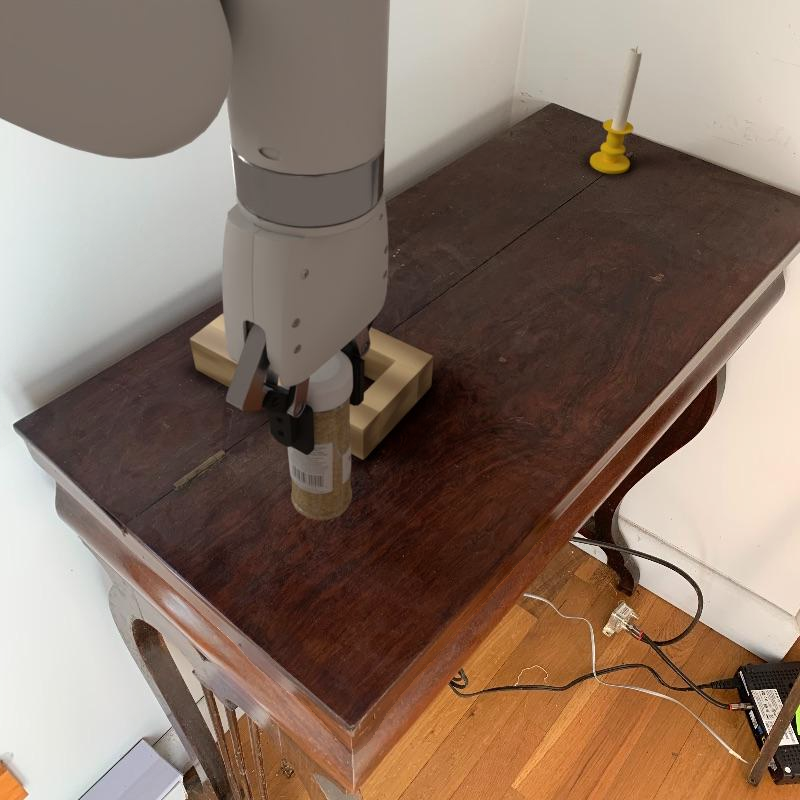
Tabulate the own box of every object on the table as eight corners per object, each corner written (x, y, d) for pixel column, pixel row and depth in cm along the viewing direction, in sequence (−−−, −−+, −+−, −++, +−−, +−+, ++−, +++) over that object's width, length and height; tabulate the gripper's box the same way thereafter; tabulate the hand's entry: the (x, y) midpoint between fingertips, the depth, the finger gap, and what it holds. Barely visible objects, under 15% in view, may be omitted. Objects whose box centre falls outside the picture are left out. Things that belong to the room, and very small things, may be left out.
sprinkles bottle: (364, 496, 60) (368, 364, 50) (321, 534, 57) (316, 402, 48) (321, 464, 62) (316, 331, 52) (277, 499, 59) (263, 365, 50)
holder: (363, 460, 70) (363, 430, 67) (195, 369, 78) (189, 338, 75) (431, 386, 77) (433, 356, 74) (271, 309, 84) (267, 278, 81)
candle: (623, 154, 109) (652, 37, 98) (633, 174, 105) (664, 55, 94) (585, 154, 109) (610, 37, 98) (594, 174, 105) (621, 55, 94)
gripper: (348, 92, 47) (348, 330, 60) (129, 219, 37) (185, 473, 50) (458, 131, 44) (433, 371, 57) (255, 280, 34) (280, 531, 47)
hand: (318, 416), depth 53 cm, fingers closed on sprinkles bottle, 4 cm apart
